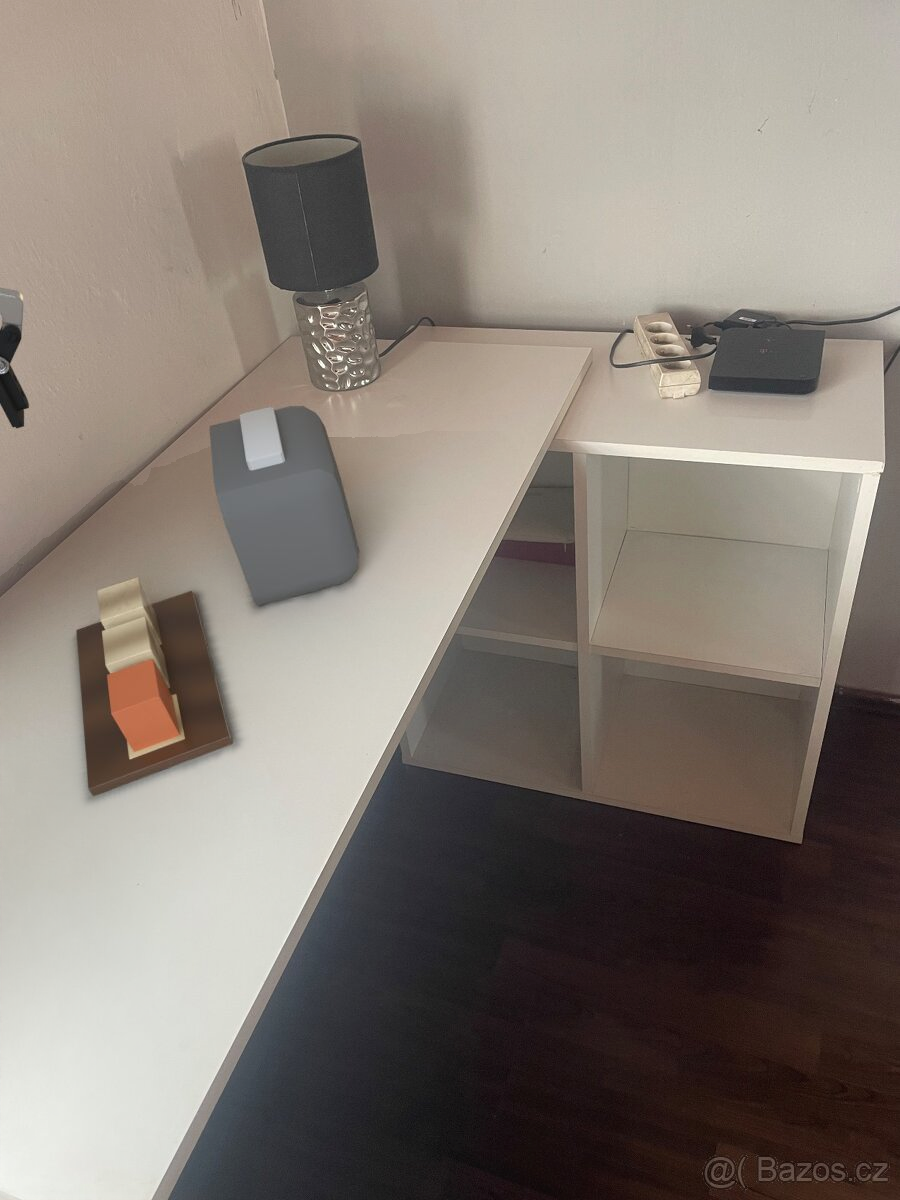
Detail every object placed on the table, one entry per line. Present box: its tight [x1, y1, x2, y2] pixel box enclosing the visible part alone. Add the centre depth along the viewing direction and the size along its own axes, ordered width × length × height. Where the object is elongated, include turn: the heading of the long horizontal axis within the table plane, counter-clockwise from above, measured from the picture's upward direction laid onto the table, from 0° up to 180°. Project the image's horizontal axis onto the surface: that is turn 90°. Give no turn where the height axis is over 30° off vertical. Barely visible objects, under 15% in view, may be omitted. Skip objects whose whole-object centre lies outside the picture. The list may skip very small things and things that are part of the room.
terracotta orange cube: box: [107, 659, 180, 752], centre depth 74 cm, size 5×4×5 cm
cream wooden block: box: [102, 617, 170, 689], centre depth 79 cm, size 5×4×5 cm
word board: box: [75, 590, 233, 797], centre depth 81 cm, size 22×12×1 cm, turn 21°
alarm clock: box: [209, 405, 360, 607], centre depth 88 cm, size 16×11×16 cm
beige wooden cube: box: [96, 576, 162, 645], centre depth 84 cm, size 5×4×5 cm
